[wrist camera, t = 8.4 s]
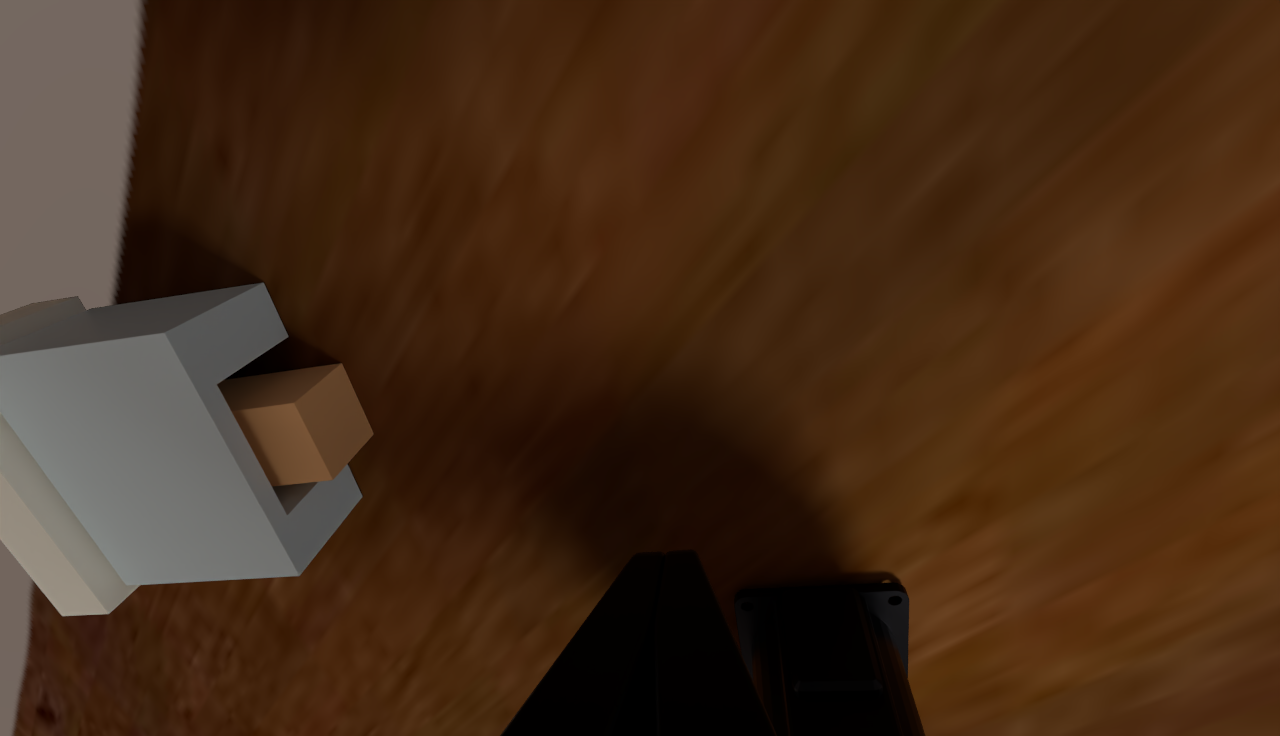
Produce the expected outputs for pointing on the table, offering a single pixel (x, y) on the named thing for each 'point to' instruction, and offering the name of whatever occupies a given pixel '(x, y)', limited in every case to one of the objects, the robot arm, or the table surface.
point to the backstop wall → (49, 504)
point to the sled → (165, 438)
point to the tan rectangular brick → (299, 422)
